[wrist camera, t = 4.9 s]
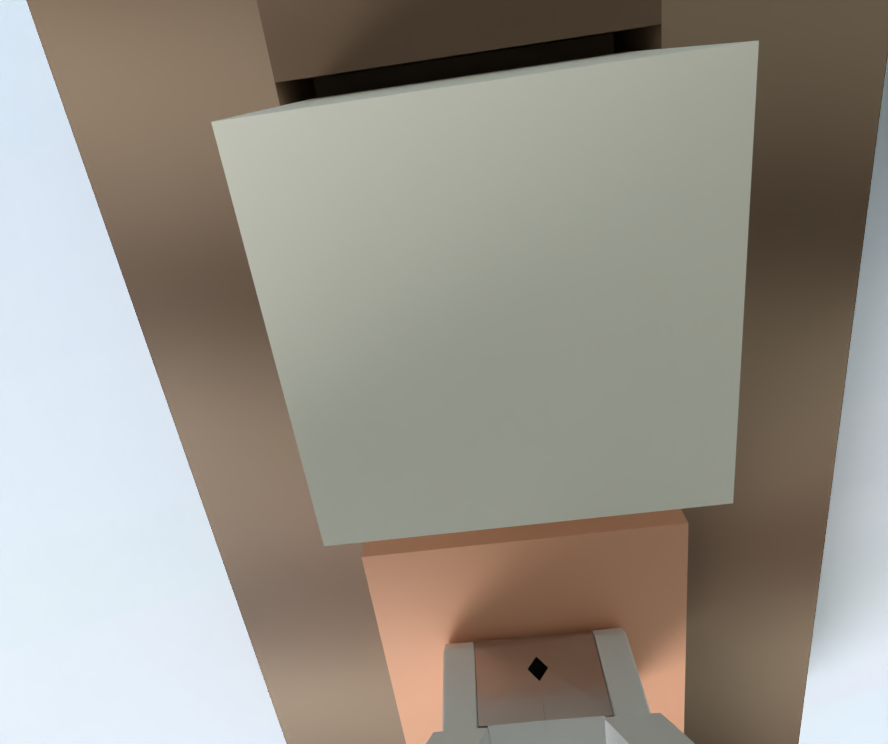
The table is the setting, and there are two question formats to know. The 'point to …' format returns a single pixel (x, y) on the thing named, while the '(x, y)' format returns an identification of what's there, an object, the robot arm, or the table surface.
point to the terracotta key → (531, 600)
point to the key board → (253, 366)
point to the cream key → (507, 288)
